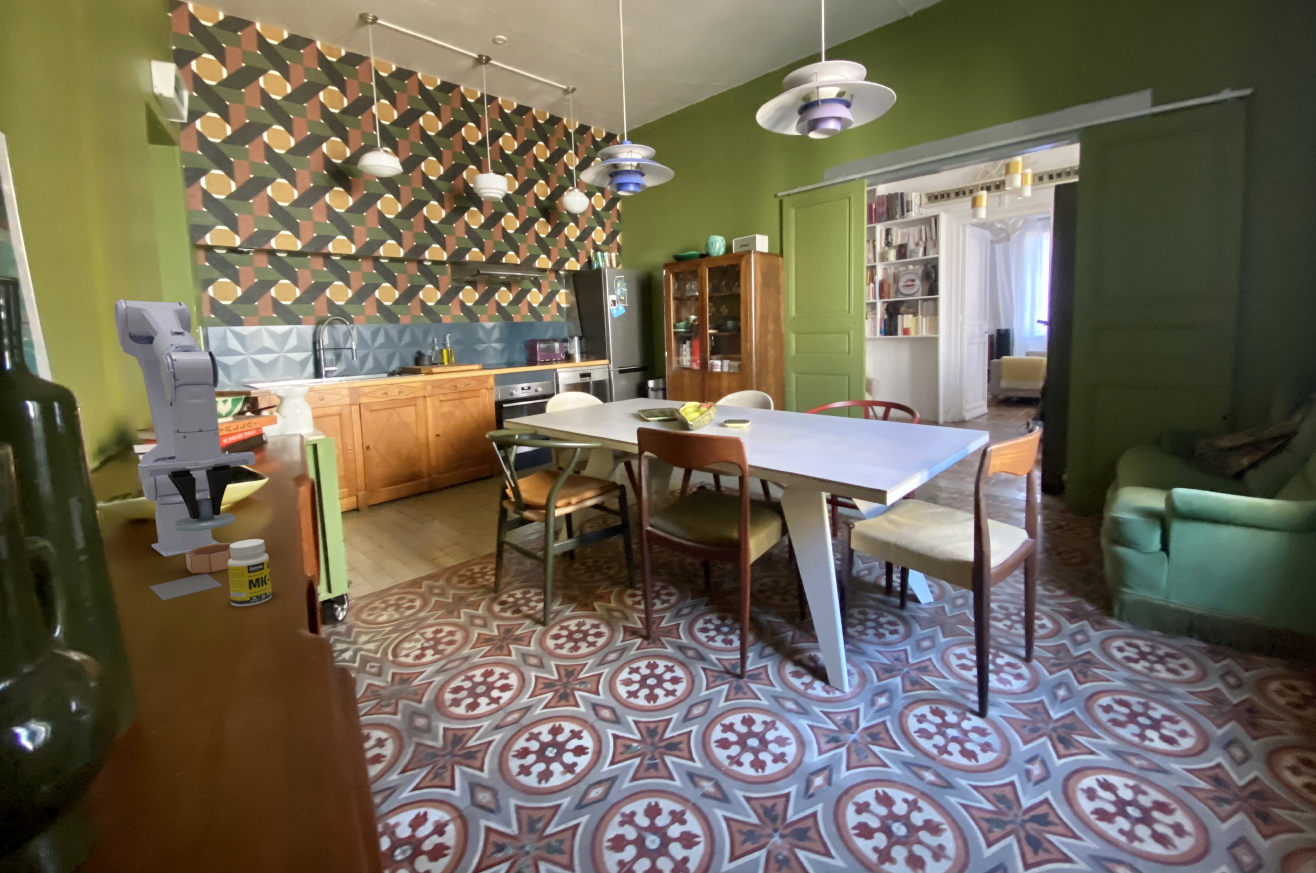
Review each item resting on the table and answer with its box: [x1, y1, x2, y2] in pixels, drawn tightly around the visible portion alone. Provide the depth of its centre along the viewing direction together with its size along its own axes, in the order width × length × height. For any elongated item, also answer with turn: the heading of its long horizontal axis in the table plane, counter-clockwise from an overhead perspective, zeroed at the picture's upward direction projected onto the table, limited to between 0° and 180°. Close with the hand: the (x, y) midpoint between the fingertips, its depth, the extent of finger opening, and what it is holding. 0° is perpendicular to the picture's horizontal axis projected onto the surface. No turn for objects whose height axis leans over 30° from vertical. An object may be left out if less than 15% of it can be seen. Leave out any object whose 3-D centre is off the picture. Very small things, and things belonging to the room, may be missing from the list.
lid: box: [175, 497, 236, 531], centre depth 97 cm, size 8×8×4 cm
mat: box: [148, 572, 224, 602], centre depth 90 cm, size 8×7×1 cm
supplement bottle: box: [227, 538, 273, 607], centre depth 85 cm, size 5×5×8 cm
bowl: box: [185, 542, 234, 574], centre depth 99 cm, size 7×7×3 cm
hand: (205, 516), depth 97 cm, fingers closed on lid, 2 cm apart
